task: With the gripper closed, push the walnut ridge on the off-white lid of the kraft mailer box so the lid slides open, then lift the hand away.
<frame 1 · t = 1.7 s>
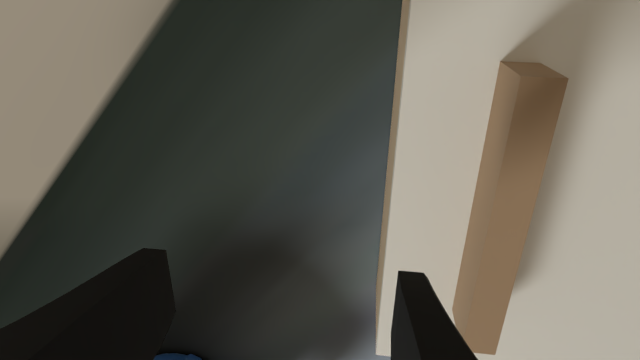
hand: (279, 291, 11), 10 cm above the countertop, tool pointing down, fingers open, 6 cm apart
mailer box: (522, 158, 19), on the countertop
mailer lid: (571, 220, 15), point 6 cm above the countertop, slide at 0.0 cm
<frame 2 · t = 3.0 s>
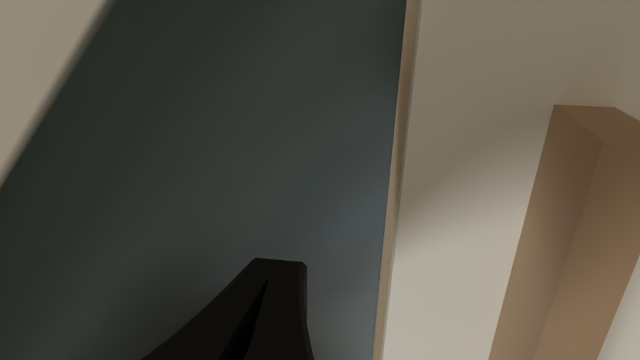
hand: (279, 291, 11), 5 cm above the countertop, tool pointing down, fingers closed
mailer box: (561, 212, 15), on the countertop
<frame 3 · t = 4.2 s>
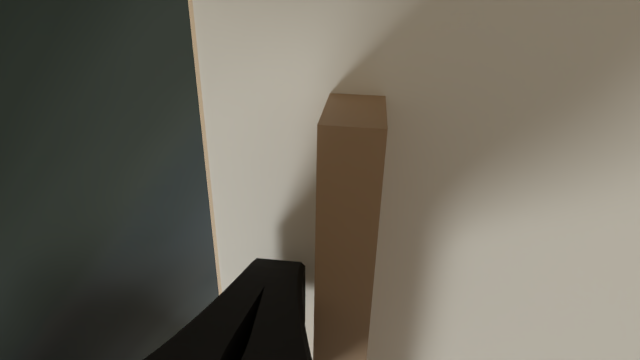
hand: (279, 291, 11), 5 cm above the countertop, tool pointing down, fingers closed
mailer box: (414, 202, 15), on the countertop
mailer lid: (447, 310, 10), point 5 cm above the countertop, slide at 0.4 cm, touching gripper
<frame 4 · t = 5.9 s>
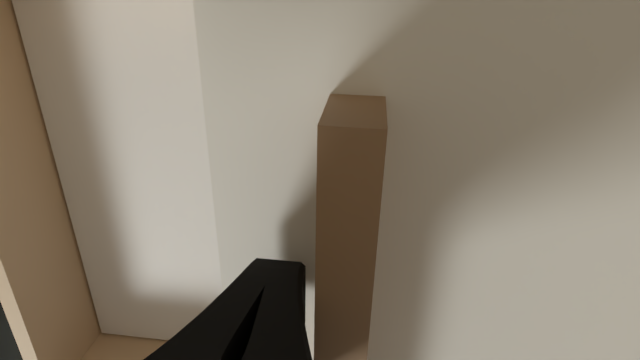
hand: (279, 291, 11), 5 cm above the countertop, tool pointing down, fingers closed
mailer box: (206, 187, 16), on the countertop
mailer lid: (447, 310, 11), point 6 cm above the countertop, slide at 8.1 cm, touching gripper
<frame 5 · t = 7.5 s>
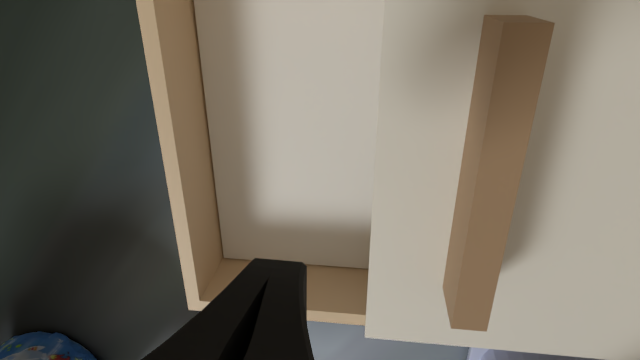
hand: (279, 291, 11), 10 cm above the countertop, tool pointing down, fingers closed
mailer box: (327, 123, 19), on the countertop
mailer lid: (564, 186, 14), point 5 cm above the countertop, slide at 8.2 cm
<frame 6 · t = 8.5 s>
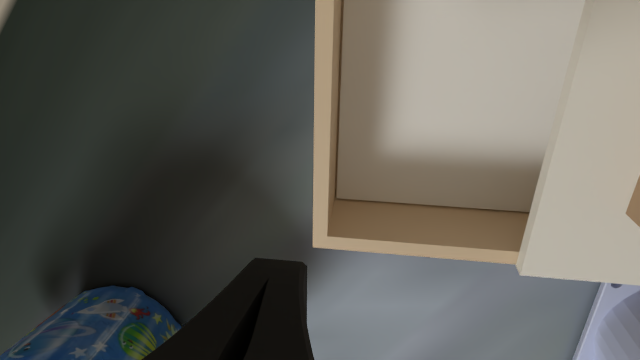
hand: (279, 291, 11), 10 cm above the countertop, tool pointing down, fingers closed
mailer box: (473, 40, 18), on the countertop
snack cup: (133, 324, 27), on the countertop
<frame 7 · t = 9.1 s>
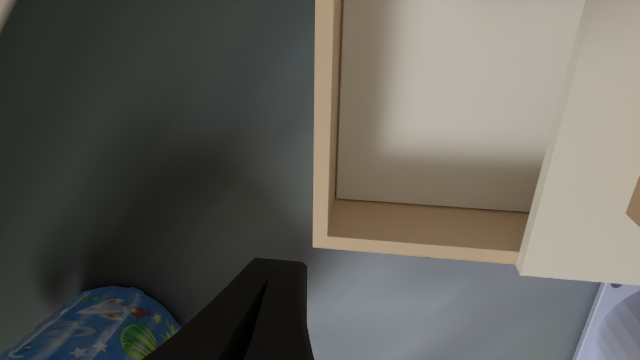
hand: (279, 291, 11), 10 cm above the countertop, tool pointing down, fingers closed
mailer box: (473, 40, 18), on the countertop
snack cup: (133, 324, 27), on the countertop
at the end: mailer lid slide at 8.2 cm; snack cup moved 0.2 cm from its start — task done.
